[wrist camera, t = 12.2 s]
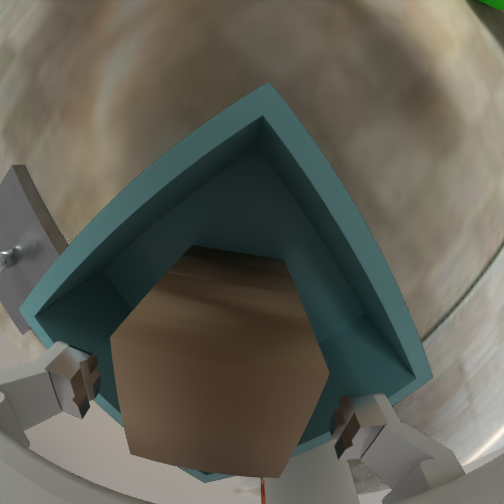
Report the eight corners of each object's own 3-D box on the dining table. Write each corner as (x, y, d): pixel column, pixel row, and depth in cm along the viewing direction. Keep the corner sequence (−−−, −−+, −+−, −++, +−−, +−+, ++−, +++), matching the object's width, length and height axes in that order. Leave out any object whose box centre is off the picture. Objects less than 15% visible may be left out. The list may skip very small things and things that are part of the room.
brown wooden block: (184, 325, 17) (130, 453, 7) (192, 244, 15) (110, 337, 6) (266, 339, 17) (279, 477, 7) (283, 260, 16) (329, 373, 6)
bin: (95, 262, 17) (18, 309, 9) (260, 130, 15) (268, 81, 7) (216, 399, 19) (204, 482, 12) (373, 308, 17) (433, 376, 10)
